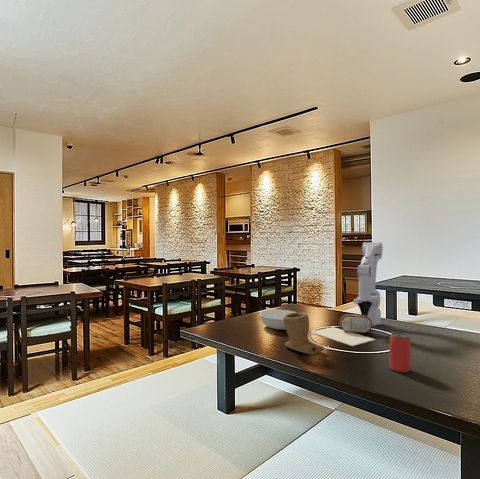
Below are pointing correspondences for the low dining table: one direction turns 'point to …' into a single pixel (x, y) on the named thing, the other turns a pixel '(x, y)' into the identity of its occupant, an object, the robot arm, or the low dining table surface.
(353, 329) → the tin
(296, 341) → the tan boot-shaped piece
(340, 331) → the mat
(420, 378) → the low dining table surface
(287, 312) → the serving bowl
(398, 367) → the beer can
